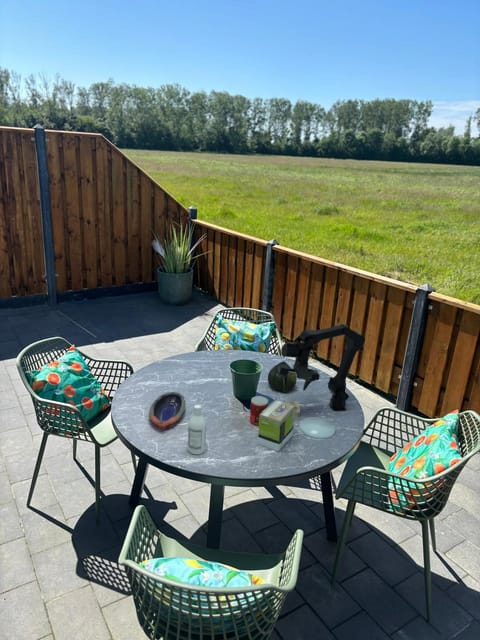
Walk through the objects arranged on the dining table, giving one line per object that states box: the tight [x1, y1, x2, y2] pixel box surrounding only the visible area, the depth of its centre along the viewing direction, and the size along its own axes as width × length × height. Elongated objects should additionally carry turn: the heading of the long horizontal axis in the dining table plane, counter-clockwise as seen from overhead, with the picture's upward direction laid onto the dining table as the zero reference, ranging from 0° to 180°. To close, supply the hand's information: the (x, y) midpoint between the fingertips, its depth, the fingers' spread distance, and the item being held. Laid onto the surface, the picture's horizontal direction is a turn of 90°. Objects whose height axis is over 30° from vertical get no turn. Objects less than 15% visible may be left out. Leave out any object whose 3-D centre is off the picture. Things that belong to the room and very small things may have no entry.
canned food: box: [249, 395, 269, 427], centre depth 206 cm, size 8×8×11 cm
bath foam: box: [187, 404, 207, 455], centre depth 182 cm, size 7×7×20 cm
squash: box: [267, 361, 298, 393], centre depth 239 cm, size 14×15×15 cm
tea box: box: [257, 399, 295, 452], centre depth 192 cm, size 15×10×15 cm, turn 150°
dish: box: [148, 391, 186, 430], centre depth 208 cm, size 16×31×5 cm, turn 175°
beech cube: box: [286, 401, 301, 417], centre depth 215 cm, size 5×5×5 cm
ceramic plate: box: [298, 416, 336, 440], centre depth 204 cm, size 16×16×1 cm
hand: (294, 388), depth 212 cm, fingers open, 9 cm apart
